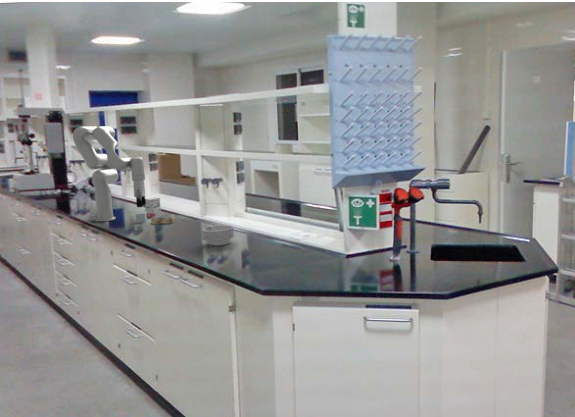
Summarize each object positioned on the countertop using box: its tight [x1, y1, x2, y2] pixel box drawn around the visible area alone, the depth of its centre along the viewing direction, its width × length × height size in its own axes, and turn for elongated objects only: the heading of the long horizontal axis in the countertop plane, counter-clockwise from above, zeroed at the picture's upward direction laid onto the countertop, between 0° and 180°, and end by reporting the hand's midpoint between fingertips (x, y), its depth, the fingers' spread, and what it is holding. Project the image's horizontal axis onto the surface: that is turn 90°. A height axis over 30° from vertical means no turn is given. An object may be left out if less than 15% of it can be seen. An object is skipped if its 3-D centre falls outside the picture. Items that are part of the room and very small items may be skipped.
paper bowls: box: [201, 225, 235, 247], centre depth 272 cm, size 15×15×8 cm
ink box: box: [144, 197, 162, 219], centre depth 356 cm, size 9×5×12 cm, turn 143°
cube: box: [134, 211, 148, 224], centre depth 340 cm, size 6×6×6 cm
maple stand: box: [150, 214, 176, 225], centre depth 337 cm, size 12×12×3 cm
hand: (141, 206), depth 338 cm, fingers open, 9 cm apart
